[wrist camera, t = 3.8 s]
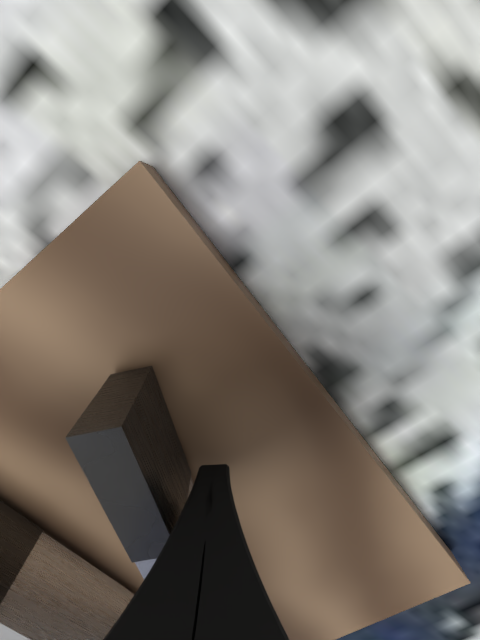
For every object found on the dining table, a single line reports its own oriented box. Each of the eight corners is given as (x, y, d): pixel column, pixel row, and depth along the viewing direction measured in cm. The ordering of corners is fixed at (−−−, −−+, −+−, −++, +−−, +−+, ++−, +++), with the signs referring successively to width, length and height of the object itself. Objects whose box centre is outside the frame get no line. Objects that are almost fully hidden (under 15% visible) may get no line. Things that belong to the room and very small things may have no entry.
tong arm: (270, 654, 17) (278, 750, 14) (221, 660, 17) (218, 757, 14) (170, 361, 11) (144, 426, 8) (92, 377, 11) (37, 446, 8)
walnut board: (200, 663, 21) (197, 697, 19) (-149, 439, 14) (-192, 466, 12) (451, 551, 17) (470, 583, 16) (152, 166, 10) (139, 160, 9)
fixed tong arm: (193, 631, 16) (184, 724, 13) (171, 642, 17) (158, 734, 14) (-59, 459, 12) (-152, 542, 9) (-82, 477, 12) (-179, 563, 9)
